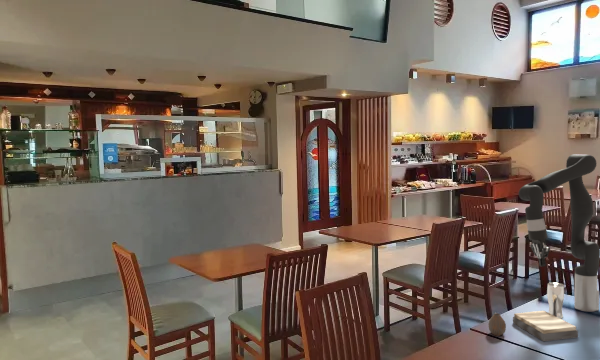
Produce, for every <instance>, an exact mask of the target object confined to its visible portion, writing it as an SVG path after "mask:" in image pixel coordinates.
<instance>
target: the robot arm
mask: <svg viewBox="0 0 600 360" xmlns="http://www.w3.org/2000/svg"><path fill="white" fill-rule="evenodd" d="M565 166H566V167H565V168H562V169H560V170H556V171H553V172H550V173H548V174H546V175H544V176H543V177H541V178H539V179H538V180H535V181H532V182H529V183H527V184H524V185H523V186H522V187H520V188H519V190H518V197H519V198H520V199H521V200H522V201H525V202H529V206H527V207H526V208H525V209H524V211H525V219H526V229H527V234H528V239H529V240H530V241H531V242H532V244H530V245H529V246H530V247H529V248H530V249H531V251H532V252H533V255H534V256H535V257H537V259H538V263H539V264H538V265H539V267H546V266H547V264H546V258H548V257H549V254H550V251H551V248H550V246H547V242H546V239H547V238H548V233H547V226H546V222H545V219H544V212H543V205H544V194H547V193H549V192H551V191H553V190H555V189H556V188H558V187H560V186H562V185H564V184H566V183H568V184H569V185H568V186H569V198H570V205H569V206H570V215H571V234H570V236H571V239H570V240H571V241H570V252H571V254H572V257H574V258H575V259H579V260H582V261H584V263H583V265H577V266H575V268H574V308H575V309H576V310H579V311H582V312H591V313H593V312H597V311H599V310H600V291H599V290H598V271H599V268H600V246H599V244H598V243H597V242H594V241H590V240H589V241H588V240H585V231H586V228H587V226H588V225H589V223H590V221H591V220H592V218H593V215H594V202H593V198H592V196H591V195H590V194H591V193H590V192H589V191H588V190H587V188H586V186H585V184H584V181H583V176H585V175H586V176H587V175H588V174H591V173H592V172H594V171H595V170H596V167H597V160H596V157H594V156H593V155H591V154H584V153H583V154H579V153H577V154H576V153H575V154H574V153H573V154H570V155H569V156H568V157H567V159H566V164H565Z"/></svg>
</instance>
